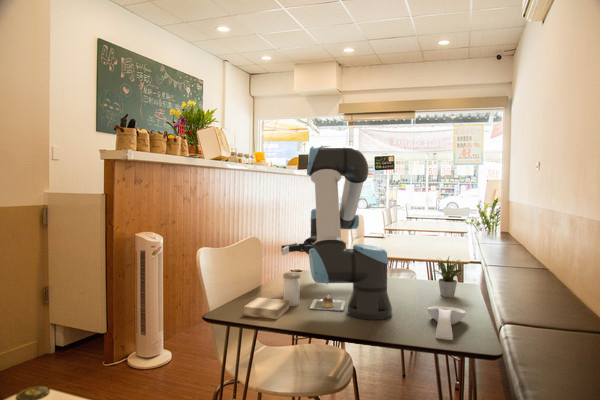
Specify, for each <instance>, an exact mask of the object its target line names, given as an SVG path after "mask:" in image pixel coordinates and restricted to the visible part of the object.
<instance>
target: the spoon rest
mask: <svg viewBox="0 0 600 400" xmlns="http://www.w3.org/2000/svg"><path fill="white" fill-rule="evenodd" d="M427 312H428V314H429V316H431V318H433V319H434V320H435V322H437V325H436V329H435V338H436V339H439V340H445V341H453V339H454V335H453V329H452V325H456V324H457V323H459V322H460V321H462V320H463V319H464V318H465V316H466V311H465V310H464V309H461V308H457V307H450V306H438V305H437V306H436V305H435V306H429V307H427Z"/></svg>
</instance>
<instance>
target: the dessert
mask: <svg viewBox="0 0 600 400" xmlns="http://www.w3.org/2000/svg"><path fill="white" fill-rule="evenodd" d="M317 302H320V303H322V304H321V307H322V308H320V307H319V308H317V307H315V306H316V305H317ZM334 303H337V304H339V303H340V304H341V306H340V309H334V308H335V304H334ZM345 304H346V300H337V299H333V298H332V297H331V296H330V294H328V295H326V296H324V298H323V299H322V298H321V299H320V298H314V299H313V301H312V302H311V304H310V307H309V309H311V310H321V311H334V312H335V311H336V312H343V311H344V309H345ZM332 308H333V309H332Z"/></svg>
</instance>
